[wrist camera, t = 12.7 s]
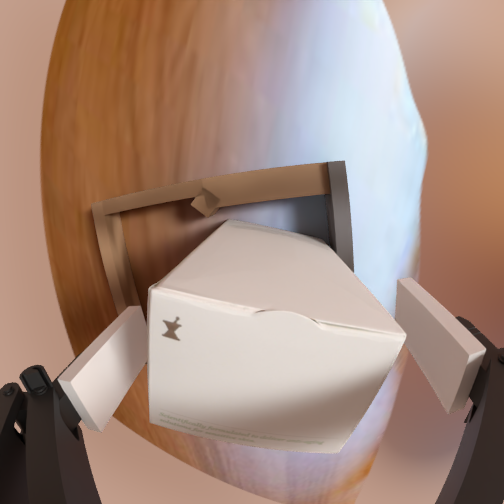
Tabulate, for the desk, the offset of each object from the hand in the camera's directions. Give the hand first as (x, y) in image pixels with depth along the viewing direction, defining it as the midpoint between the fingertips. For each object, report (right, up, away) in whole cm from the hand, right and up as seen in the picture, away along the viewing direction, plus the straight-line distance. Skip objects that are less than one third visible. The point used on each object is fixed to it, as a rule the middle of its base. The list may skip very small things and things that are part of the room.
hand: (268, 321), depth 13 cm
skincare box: (+1, +3, +10) cm, 10 cm away
